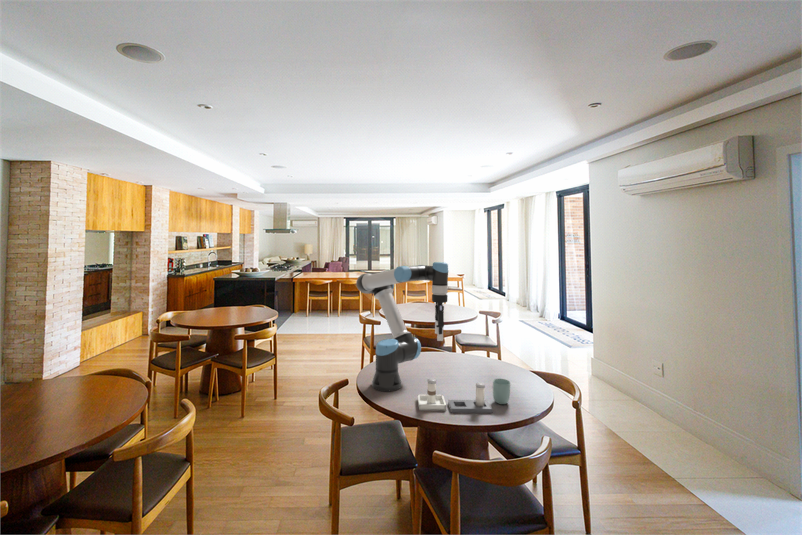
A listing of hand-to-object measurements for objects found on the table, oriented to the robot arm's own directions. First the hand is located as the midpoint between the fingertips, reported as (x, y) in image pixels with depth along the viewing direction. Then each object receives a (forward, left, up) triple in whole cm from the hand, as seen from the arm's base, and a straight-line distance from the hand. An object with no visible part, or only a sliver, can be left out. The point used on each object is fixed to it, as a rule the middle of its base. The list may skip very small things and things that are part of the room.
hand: (438, 337), depth 171 cm
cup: (+29, -10, -28) cm, 41 cm away
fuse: (+17, -16, -28) cm, 37 cm away
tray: (-4, -13, -28) cm, 31 cm away
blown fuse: (-4, -13, -28) cm, 31 cm away
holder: (+13, -16, -28) cm, 35 cm away
